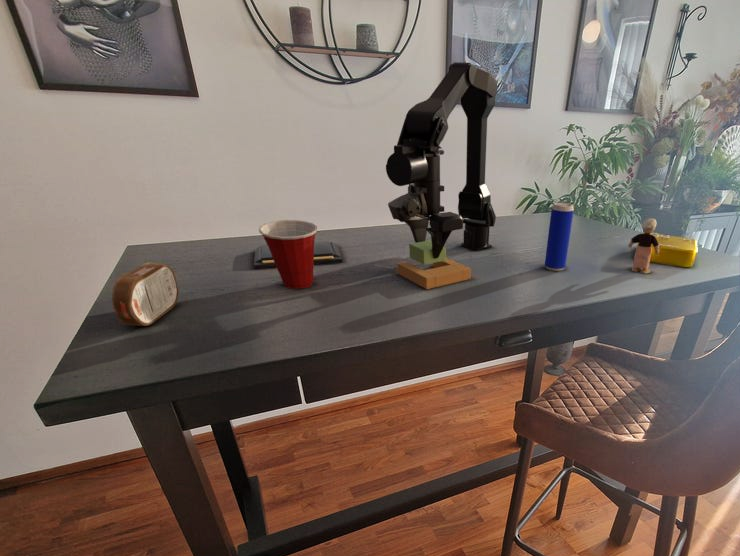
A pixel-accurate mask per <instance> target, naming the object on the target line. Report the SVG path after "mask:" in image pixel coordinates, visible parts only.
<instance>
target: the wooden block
mask: <svg viewBox="0 0 740 556" xmlns="http://www.w3.org/2000/svg"><path fill="white" fill-rule="evenodd" d="M396 264H397V266H396V267H397V268H396V269H397V274H398V275H399V276H401V277H403V278H405V279H407V280H409V281H411V282H412V283H414V284H416V285H418V286H419V287H422V288H423V289H425V290H429V289H434V288H438V287H443V286H447V285H451V284H455V283H460V282H463V281H468V280H471V276H472V275H471V272H472V269H471V267H468V266H466V265H463V264H461V263H459V262H457V261H455V260H452V259H450V258H448V257H446V260H445V261H440V262H435V263H432V268H428V269H422V268H420V267H418V266H416V265H414V264H412V263H410V262H407V261H401V262H397V263H396Z"/></svg>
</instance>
